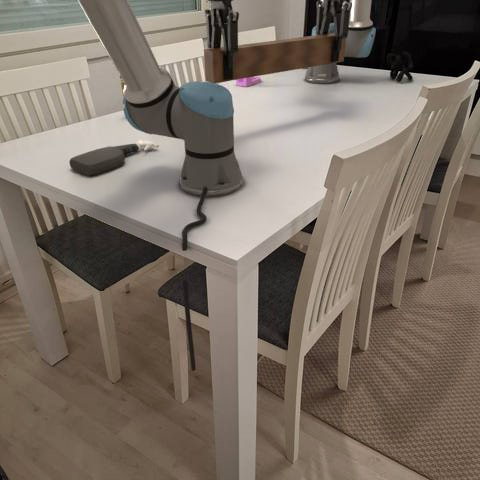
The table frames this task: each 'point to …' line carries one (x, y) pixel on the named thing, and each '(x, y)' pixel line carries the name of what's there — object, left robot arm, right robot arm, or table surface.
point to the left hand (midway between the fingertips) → (223, 77)
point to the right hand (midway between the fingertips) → (329, 59)
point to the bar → (272, 57)
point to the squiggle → (399, 66)
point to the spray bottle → (106, 157)
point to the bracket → (248, 81)
